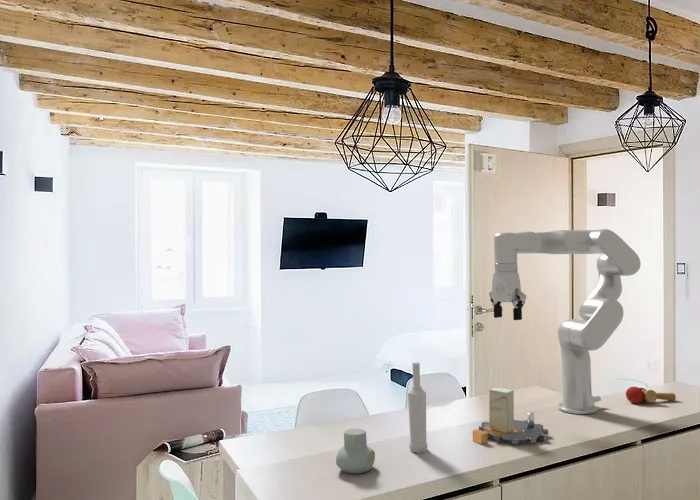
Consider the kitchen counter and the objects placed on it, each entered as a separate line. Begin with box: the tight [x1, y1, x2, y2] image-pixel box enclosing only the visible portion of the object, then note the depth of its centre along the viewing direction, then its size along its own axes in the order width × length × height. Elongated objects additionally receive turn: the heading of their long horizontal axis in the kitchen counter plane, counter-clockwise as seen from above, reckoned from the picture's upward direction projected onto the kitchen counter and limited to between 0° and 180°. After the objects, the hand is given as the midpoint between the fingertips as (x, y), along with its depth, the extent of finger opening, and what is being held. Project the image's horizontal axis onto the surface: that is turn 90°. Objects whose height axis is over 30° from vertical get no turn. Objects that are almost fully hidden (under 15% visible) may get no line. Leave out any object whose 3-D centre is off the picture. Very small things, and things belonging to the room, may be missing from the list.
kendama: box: [625, 386, 677, 405], centre depth 202 cm, size 8×6×18 cm
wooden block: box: [472, 428, 489, 446], centre depth 167 cm, size 17×7×3 cm, turn 116°
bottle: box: [407, 361, 428, 454], centre depth 159 cm, size 5×5×25 cm
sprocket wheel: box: [478, 411, 549, 445], centre depth 169 cm, size 20×20×5 cm
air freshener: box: [335, 428, 376, 474], centre depth 145 cm, size 11×8×10 cm
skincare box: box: [488, 386, 515, 433], centre depth 168 cm, size 6×4×12 cm
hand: (507, 318), depth 189 cm, fingers open, 9 cm apart
